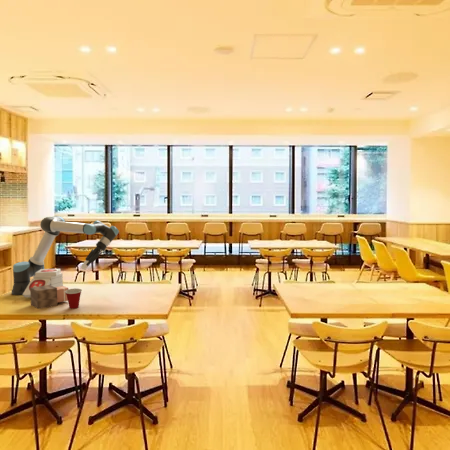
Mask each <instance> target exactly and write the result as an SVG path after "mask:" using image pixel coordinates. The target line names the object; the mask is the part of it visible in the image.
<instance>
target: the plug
mask: <svg viewBox="0 0 450 450" xmlns="http://www.w3.org/2000/svg"><path fill="white" fill-rule="evenodd" d="M56 288H57V304H58V303H61V302H68V299H67V295H66V293H65V291H66V290H68V289H69V287H66V286H64V285H63V286H59V287H56Z"/></svg>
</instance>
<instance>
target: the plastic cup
mask: <svg viewBox="0 0 450 450" xmlns="http://www.w3.org/2000/svg"><path fill="white" fill-rule="evenodd" d="M82 291H83V290H82V289H81V288H70V289H69V288H68V290H66V291H65V293H66V295H67V299H68V301H67V303H68V306H69V309H70V308H71V310H72V309H78V308H79V306H80V301H81V300H80V299H81V295H82Z"/></svg>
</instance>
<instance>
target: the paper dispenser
mask: <svg viewBox="0 0 450 450" xmlns="http://www.w3.org/2000/svg"><path fill="white" fill-rule="evenodd" d="M45 285H51V286H53V287H59V286H64V282H63V272H61V268H44V269H40V270H39V271H37V272H36V273H35V276H33V278H30V283H29V284H28V286H27V288H26V290H25V291H24V293H23V295H22V297H24V298H29V299H31V293H30V288H32V287H39V286H45Z"/></svg>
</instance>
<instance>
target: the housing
mask: <svg viewBox="0 0 450 450" xmlns="http://www.w3.org/2000/svg"><path fill="white" fill-rule="evenodd" d="M30 293H31V298H30V305H31V306H32V307H34V308H35V309H37V310H40V309H45V308H49V307H50V308H51V306H52V307H56V306H58V303H57V288H56V287H53V286H51V285H45V286H39V287H32V288H30Z"/></svg>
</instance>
